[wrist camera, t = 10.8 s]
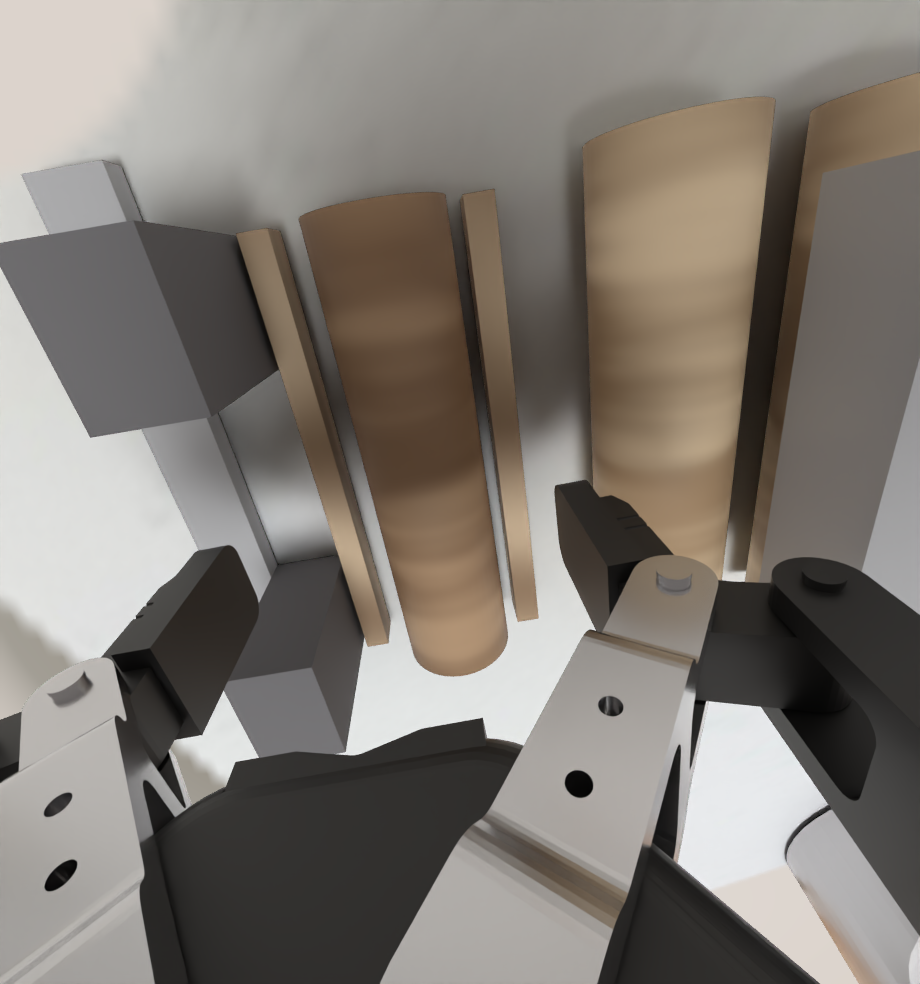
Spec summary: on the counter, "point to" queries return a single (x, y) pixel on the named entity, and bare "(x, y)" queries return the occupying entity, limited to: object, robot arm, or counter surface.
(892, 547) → the slab
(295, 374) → the roller bed
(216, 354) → the bumper posts
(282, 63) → the counter surface
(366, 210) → the roller
